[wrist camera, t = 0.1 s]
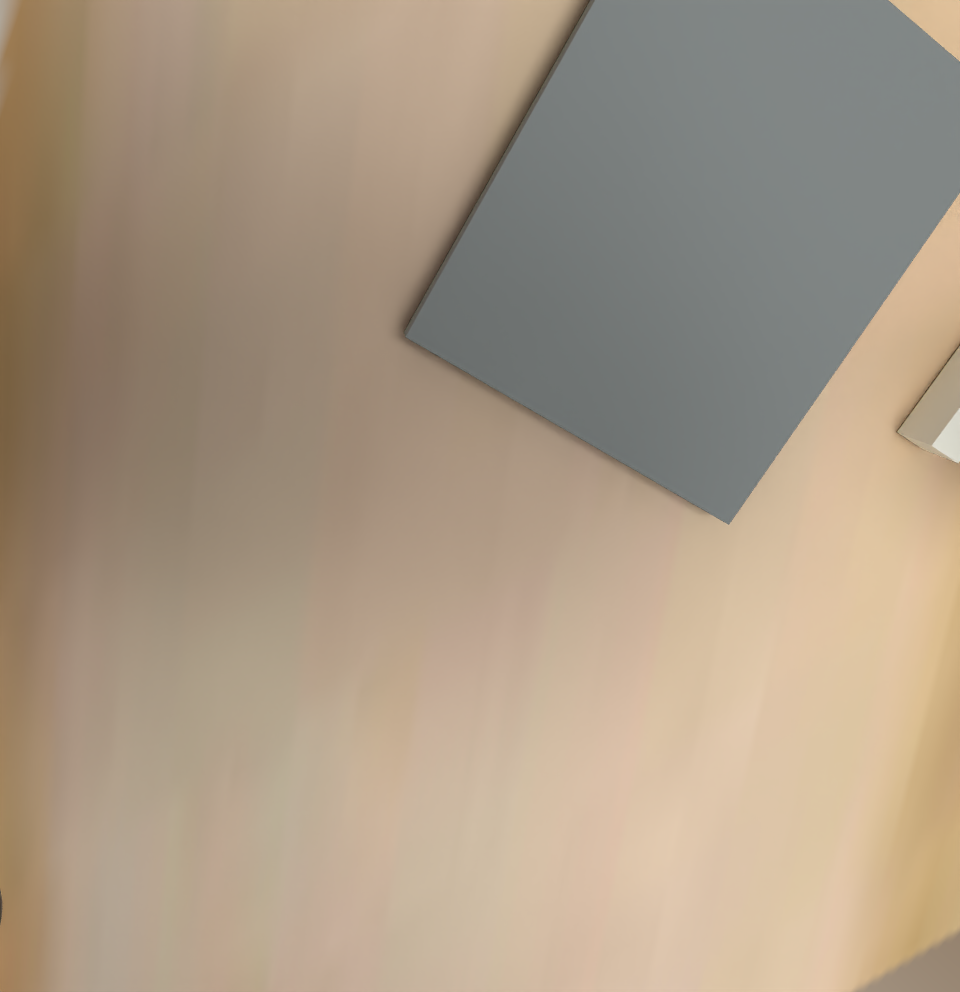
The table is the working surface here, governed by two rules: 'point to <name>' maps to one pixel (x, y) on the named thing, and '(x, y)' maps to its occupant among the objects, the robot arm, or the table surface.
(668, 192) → the slate mat
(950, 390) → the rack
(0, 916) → the robot arm
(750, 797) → the table surface
